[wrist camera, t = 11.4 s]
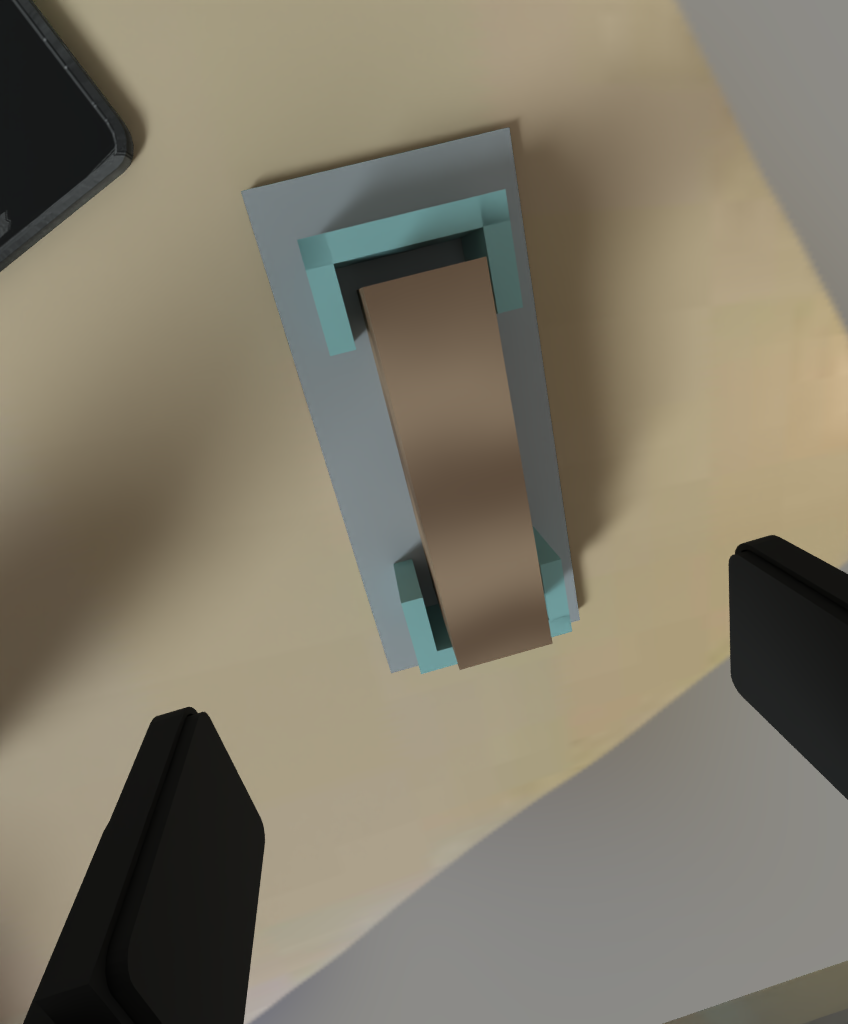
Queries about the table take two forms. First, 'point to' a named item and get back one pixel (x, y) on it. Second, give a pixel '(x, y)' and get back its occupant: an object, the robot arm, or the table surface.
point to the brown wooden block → (460, 455)
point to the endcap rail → (352, 370)
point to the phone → (49, 131)
